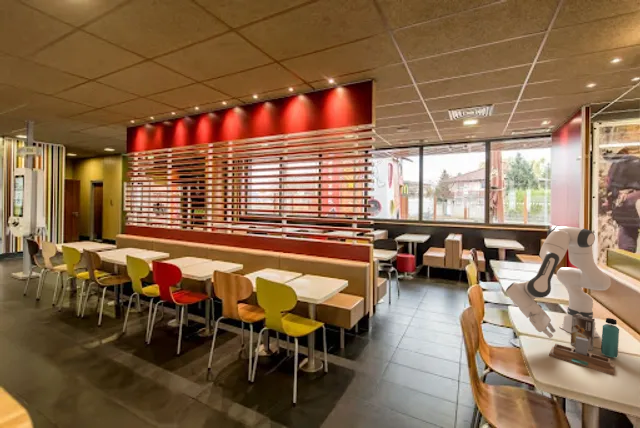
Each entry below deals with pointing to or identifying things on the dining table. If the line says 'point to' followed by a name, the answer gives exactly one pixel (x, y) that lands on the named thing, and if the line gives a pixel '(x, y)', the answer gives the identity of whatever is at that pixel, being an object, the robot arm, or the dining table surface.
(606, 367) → the rack
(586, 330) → the coffee box
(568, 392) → the dining table surface
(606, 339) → the beverage bottle
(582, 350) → the panel
